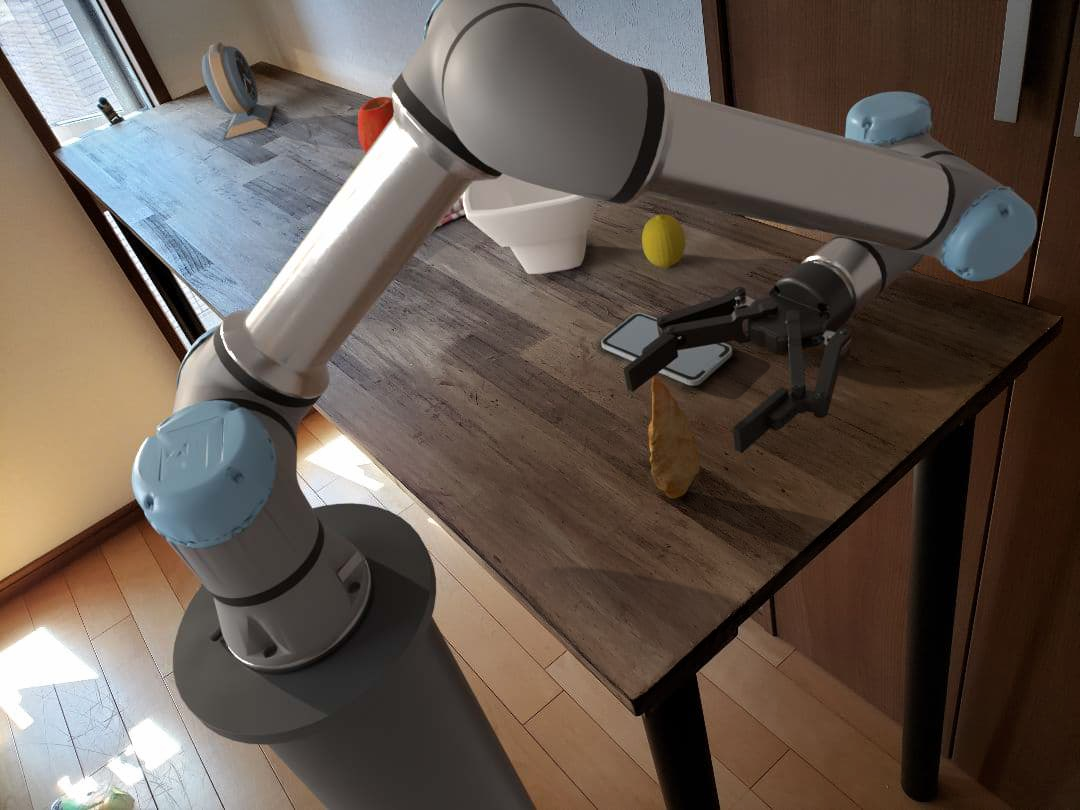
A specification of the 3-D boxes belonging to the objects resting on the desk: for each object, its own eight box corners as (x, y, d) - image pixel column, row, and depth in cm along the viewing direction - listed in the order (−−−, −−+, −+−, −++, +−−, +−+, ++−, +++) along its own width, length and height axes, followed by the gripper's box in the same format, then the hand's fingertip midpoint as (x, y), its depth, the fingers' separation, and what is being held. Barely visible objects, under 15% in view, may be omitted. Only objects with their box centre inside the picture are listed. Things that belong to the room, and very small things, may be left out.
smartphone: (637, 310, 105) (735, 347, 95) (638, 316, 105) (736, 353, 96) (597, 342, 102) (694, 384, 92) (598, 348, 102) (695, 390, 92)
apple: (432, 144, 160) (414, 90, 153) (387, 171, 155) (367, 116, 148) (400, 135, 166) (381, 83, 160) (356, 160, 162) (335, 108, 155)
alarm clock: (267, 128, 187) (230, 49, 175) (225, 140, 187) (186, 61, 176) (273, 105, 198) (239, 29, 186) (234, 116, 198) (198, 41, 187)
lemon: (638, 273, 112) (629, 221, 107) (663, 252, 115) (655, 200, 109) (672, 283, 109) (664, 230, 104) (696, 260, 111) (690, 207, 106)
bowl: (625, 287, 110) (607, 193, 101) (483, 309, 114) (454, 220, 105) (623, 215, 124) (607, 127, 115) (497, 236, 128) (472, 152, 119)
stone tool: (687, 471, 84) (669, 357, 75) (705, 481, 83) (689, 366, 73) (653, 502, 82) (630, 389, 73) (671, 513, 81) (649, 399, 71)
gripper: (936, 366, 79) (792, 500, 71) (730, 284, 96) (596, 386, 88) (943, 301, 74) (789, 438, 66) (725, 227, 91) (582, 330, 83)
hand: (679, 409), depth 77 cm, fingers open, 13 cm apart
